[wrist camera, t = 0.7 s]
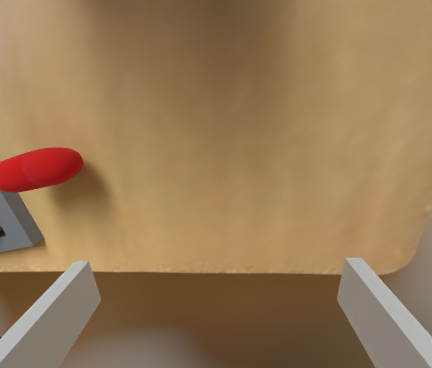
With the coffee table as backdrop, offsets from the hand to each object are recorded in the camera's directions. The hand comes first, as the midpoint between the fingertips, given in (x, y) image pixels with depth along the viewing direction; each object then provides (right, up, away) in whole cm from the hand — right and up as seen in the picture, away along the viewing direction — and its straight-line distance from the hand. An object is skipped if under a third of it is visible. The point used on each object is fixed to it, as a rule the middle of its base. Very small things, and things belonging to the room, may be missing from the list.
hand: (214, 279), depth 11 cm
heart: (-25, +9, +26) cm, 37 cm away
